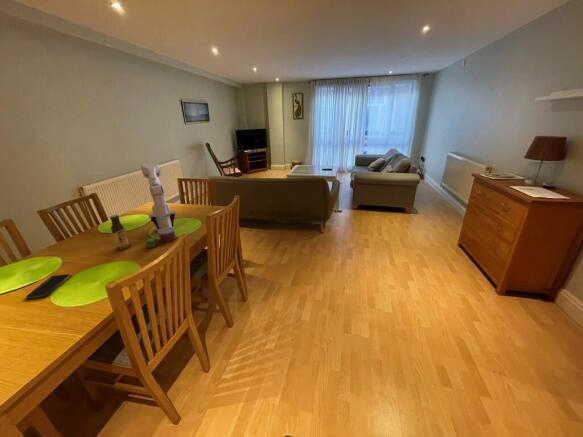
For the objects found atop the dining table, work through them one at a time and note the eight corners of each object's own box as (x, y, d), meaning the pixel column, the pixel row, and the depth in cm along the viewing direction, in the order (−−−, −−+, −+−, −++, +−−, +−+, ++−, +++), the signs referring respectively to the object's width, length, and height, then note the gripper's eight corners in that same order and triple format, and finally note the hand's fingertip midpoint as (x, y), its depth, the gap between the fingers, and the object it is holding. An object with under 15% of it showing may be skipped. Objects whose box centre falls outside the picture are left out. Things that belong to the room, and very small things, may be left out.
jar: (156, 241, 146) (153, 232, 144) (167, 234, 155) (165, 226, 153) (168, 243, 144) (166, 234, 141) (180, 236, 152) (178, 227, 150)
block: (147, 248, 139) (145, 242, 137) (149, 244, 143) (147, 238, 141) (154, 247, 140) (153, 241, 138) (156, 244, 143) (155, 238, 142)
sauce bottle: (123, 250, 137) (112, 218, 129) (114, 249, 138) (103, 218, 130) (132, 245, 143) (123, 214, 135) (123, 244, 144) (113, 213, 136)
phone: (24, 297, 100) (51, 275, 113) (25, 299, 100) (52, 277, 114) (45, 295, 101) (70, 274, 114) (46, 297, 101) (71, 276, 115)
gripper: (145, 210, 131) (151, 232, 136) (174, 206, 136) (179, 227, 141) (146, 206, 137) (152, 227, 142) (174, 202, 142) (179, 223, 147)
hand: (165, 227), depth 142 cm, fingers open, 7 cm apart
